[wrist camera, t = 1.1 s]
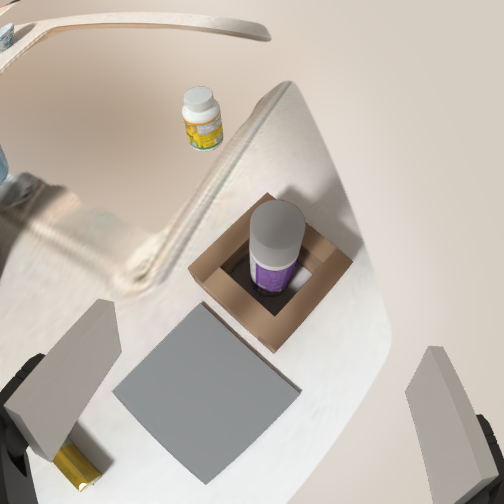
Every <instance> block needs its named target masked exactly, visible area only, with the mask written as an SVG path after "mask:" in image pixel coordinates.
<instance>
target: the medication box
mask: <svg viewBox="0 0 504 504" xmlns="http://www.w3.org/2000/svg"><path fill="white" fill-rule="evenodd" d="M52 462H53V463H54V464H55V465H56V466H57V468H58V469H59V470H60V471H61V472H62V473H63V474H64V475H65V477H66V478H67V479H68V480H69V481H70V482H71V483H72V484H73V485H74V486H75V487H76V488H77V489H78V490H79V491H80V492H81V491H82V490H84V489H86V488H88V487H89V486H91V485H94V483H95V482H97V481H98V480H99V478H100V477H101V476H102V474H101V473H100V472H99V471H98V470H97V469H96V468H95V467H94V466H93V465H92V464H91V463H90V462H89V461H88V459H87V458H86V457H85V456H84V455H83V454H82V453H81V452H80V451H79V449H78V448H77V447H76V446H75V445H74V444H73V443H72V441H71V440H70V439H69V438H68V437H66V439H65V441H64V442H63V444H62V446H61V447H60V449H59V451H58V452H57V454H56V456H55V457H54V459H53V461H52Z"/></svg>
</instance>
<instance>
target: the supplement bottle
mask: <svg viewBox="0 0 504 504" xmlns="http://www.w3.org/2000/svg"><path fill="white" fill-rule="evenodd" d="M184 104H185V105H184V106H183V109H182V116H183V119H184V123H185V127H186V131H187V135H188V139H189V143H190V145H191V146H192V148H194V149H196V150H198V151H201V152H207V151H211V150H214V149H216V148H217V147H218V146H220V144H221V143H222V141H223V130H222V123H221V115H220V107H219V104H218V102H217V101H216V100H215V99H214V97H213V92H212V90H211V89H210V88H208V87H205V86H197V87H194V88H191V89H189V90H188V91H186V92H185V94H184Z"/></svg>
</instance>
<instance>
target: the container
mask: <svg viewBox="0 0 504 504" xmlns="http://www.w3.org/2000/svg"><path fill="white" fill-rule="evenodd" d="M304 232H305V219H304V216H303V214H302V213H301V211H300V210H299V209H298V208H297V207H296V206H295V205H293V204H292V203H289V202H287V201H283V200H270V201H267V202H264V203H262V204H261V205H259V206H258V207H257V208H256V209H255V211H254V212H253V214H252V216H251V220H250V246H249V249H250V271H251V283H252V286H253V288H254V289H255V291H256V292H258V293H259V294H260V295H263V296H266V297H275V296H278V295H280V294H281V293H283V292H284V291H285V289H286V288H287V286H288V283H289V281H290V278H291V275H292V272H293V269H294V266H295V264H296V261H297V258H298V255H299V251H300V247H301V243H302V239H303V236H304Z"/></svg>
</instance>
